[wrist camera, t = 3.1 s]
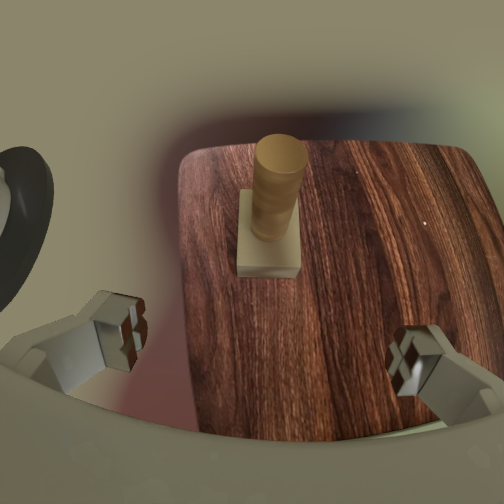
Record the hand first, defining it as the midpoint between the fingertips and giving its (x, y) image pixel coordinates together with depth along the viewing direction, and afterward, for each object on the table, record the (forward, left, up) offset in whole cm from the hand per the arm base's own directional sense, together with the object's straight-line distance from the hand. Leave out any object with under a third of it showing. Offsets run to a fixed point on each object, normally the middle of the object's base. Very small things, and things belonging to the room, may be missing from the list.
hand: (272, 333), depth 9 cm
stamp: (+1, +10, -15) cm, 18 cm away
